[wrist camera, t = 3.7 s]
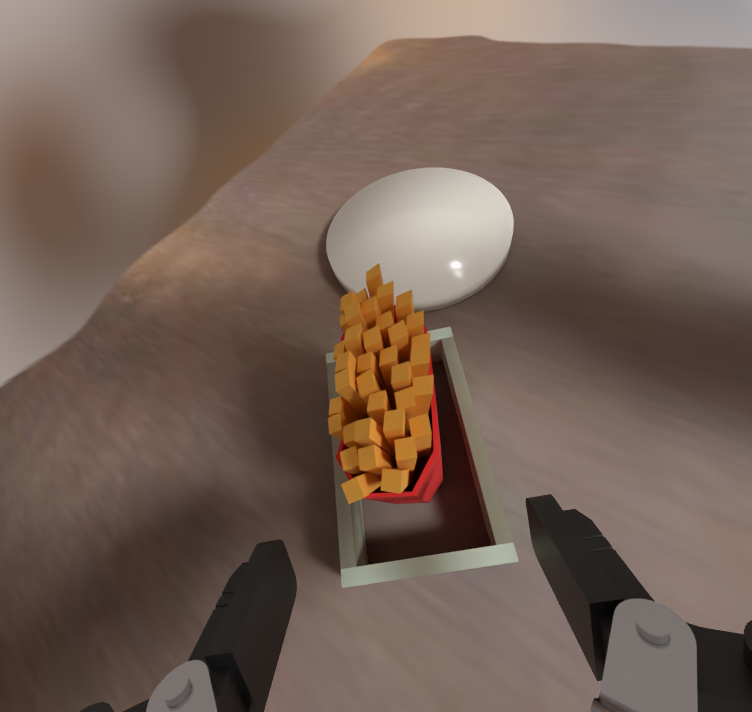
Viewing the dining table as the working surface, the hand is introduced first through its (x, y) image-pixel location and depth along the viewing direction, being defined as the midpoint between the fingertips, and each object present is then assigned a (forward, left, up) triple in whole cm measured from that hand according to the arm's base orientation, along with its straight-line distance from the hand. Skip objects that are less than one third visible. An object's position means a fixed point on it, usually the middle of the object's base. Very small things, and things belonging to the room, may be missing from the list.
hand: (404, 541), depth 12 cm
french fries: (0, -6, -11) cm, 12 cm away
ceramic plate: (-4, -24, -10) cm, 26 cm away
